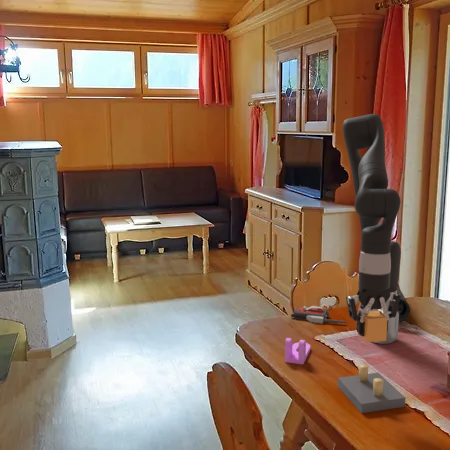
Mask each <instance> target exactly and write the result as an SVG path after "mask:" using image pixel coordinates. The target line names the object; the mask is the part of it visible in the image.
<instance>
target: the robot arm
mask: <svg viewBox="0 0 450 450" xmlns="http://www.w3.org/2000/svg"><path fill="white" fill-rule="evenodd" d="M384 128H385V127H384V123H383V119H382V117H381V116H380V115H379V114H376V113H370V114H364V115H360V116H356V117H350V118H346V119H344V121H343V123H342V133H343V139H344V144H345V147H346V153H347V156H348V161H349V165H350V171H351V175H352V182H353V189H354V190H353V191H354V196H355V200H354V210H355V212H356V214H357V215H358V219H359V224H360V232H361V234H360V253H359V254H360V255H359V259H358V260H359V261H358V282H357V283H358V284H357V285H358V290H357V293H356V294H355V295H352V296H351V295H347V296H346V298H345V299H346V306H347V310H348V311H347V312H348V315H349V318H350V319H352V320H353V321H354V322H356V333H357V334H358V333H359V335H360V336H364V333H365V322H364V321H365V317H366V316H367V315H368V314H369V311H379V313H381V314H383V316H386V317H387V335H386V341H376V342H373V343H375V344H382V345H383V344H384V345H386V344H387V345H388V344H391V343H394V342H395V341H398V340H399V324H400V322H399V313H398V312H397V310H398V306H399V302H400V298H401V296H400V295H399V294H397V285H399V279H400V266H401V257H402V250H401V249H402V248H401V245H400V244H399V243H398V242H397V241H393V240H392V233H393V228H394V226H395V225H394V224H395V222H396V219H397V217H398V214H399V211H400V209H401V208H400V207H401V203H402V202H401V196H400V194H399V193H398V191H397V190H396V189H392V188H388V186H389V178H388V173H387V167H386V143H385V142H386V138H385V129H384ZM368 148H369V149H368ZM362 149H368V150H366V152H365V153H364V155H363V156H362V155H361V154H360V151H359V150H362ZM380 221H381V222H380ZM358 301H359V305H358V308H357V304H358ZM357 309H358V310H357ZM359 335H358V336H359ZM360 336H359V337H360Z"/></svg>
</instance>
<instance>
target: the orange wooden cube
mask: <svg viewBox="0 0 450 450" xmlns="http://www.w3.org/2000/svg"><path fill="white" fill-rule="evenodd" d="M364 322H365V333H364V336H360V335H359V333H357V335H358V336H359V337H360V338H362V339H363V340H364V341H365V342H366V343H374V342H376V341H386V335H387V317H386V316H383V314H381V313H379V311H369V314H368V315H367V316H366V317H365V321H364Z"/></svg>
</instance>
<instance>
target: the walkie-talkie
mask: <svg viewBox="0 0 450 450" xmlns="http://www.w3.org/2000/svg"><path fill="white" fill-rule="evenodd" d="M290 317H291V318H294V319H296V320H303V319H304V320H305V321H308V322H309V323H312V322H313V323H314V324H320V325H321V324H324V323H333V324H346V323H347V322H346V321H345V320H337V319H330V318H329V317H330V311H328V309H325V308H324V307H323V306H318V305H317V306H316V305H311V306H310V307H306V305H304V306H303V307H302V306H301V307H300V306H296V308H295V309H294V311H293V313H291V314H290ZM327 318H329V319H327ZM304 320H303V321H304Z"/></svg>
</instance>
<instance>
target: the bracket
mask: <svg viewBox="0 0 450 450" xmlns="http://www.w3.org/2000/svg"><path fill="white" fill-rule="evenodd" d="M310 352H311V344H309V343H308V342H307V341H306V340H305V339H300V340H299V342H294V343H293V338H291V337H285V341H284V362H285V363H288V364H289V363H291V364H295V365H304V363H305V362H306V360H307V358H308V357H309V354H310Z"/></svg>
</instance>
